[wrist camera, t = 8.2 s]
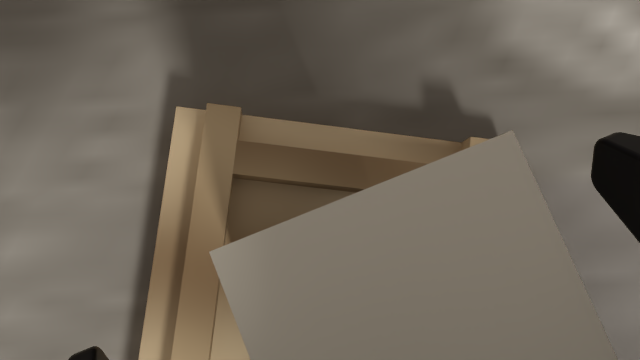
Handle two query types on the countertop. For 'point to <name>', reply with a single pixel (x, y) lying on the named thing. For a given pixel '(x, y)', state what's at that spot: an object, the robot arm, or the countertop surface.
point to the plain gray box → (418, 272)
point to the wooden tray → (249, 208)
